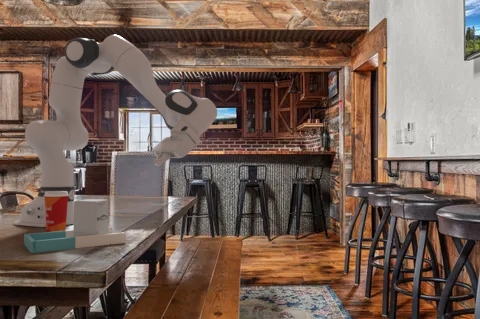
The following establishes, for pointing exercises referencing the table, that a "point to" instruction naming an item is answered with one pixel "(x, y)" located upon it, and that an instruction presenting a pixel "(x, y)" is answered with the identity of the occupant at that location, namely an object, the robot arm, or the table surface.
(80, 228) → the supplement box
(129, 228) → the table surface
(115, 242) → the push lane
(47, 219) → the paper cup
